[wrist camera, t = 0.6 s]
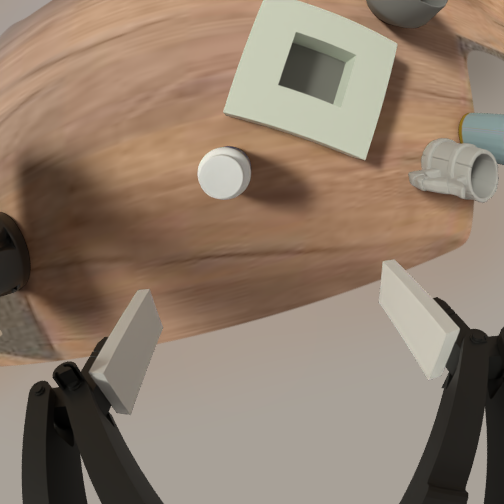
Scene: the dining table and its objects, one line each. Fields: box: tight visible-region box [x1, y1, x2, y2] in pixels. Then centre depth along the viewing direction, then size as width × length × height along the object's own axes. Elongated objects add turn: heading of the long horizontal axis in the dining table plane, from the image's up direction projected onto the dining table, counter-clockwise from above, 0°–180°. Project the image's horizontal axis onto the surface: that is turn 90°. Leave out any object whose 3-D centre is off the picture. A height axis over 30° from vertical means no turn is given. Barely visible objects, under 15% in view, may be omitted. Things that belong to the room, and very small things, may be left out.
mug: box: [408, 138, 499, 202], centre depth 26 cm, size 8×12×12 cm, turn 111°
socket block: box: [223, 0, 397, 160], centre depth 26 cm, size 16×16×4 cm
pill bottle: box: [198, 146, 251, 200], centre depth 28 cm, size 5×5×9 cm
